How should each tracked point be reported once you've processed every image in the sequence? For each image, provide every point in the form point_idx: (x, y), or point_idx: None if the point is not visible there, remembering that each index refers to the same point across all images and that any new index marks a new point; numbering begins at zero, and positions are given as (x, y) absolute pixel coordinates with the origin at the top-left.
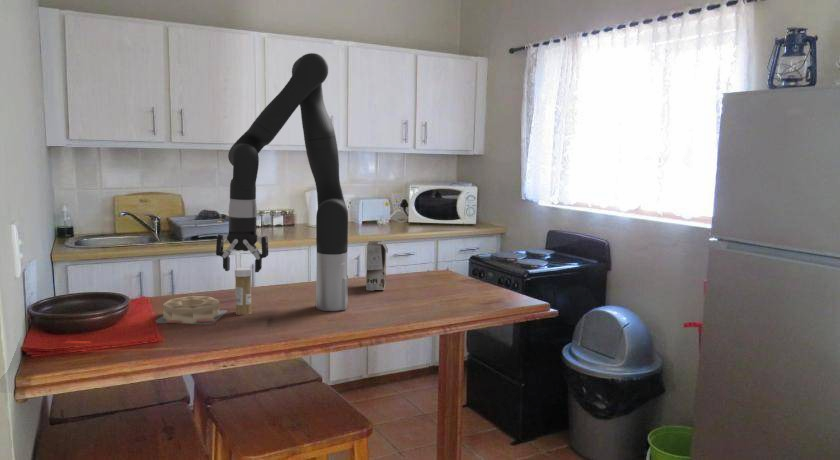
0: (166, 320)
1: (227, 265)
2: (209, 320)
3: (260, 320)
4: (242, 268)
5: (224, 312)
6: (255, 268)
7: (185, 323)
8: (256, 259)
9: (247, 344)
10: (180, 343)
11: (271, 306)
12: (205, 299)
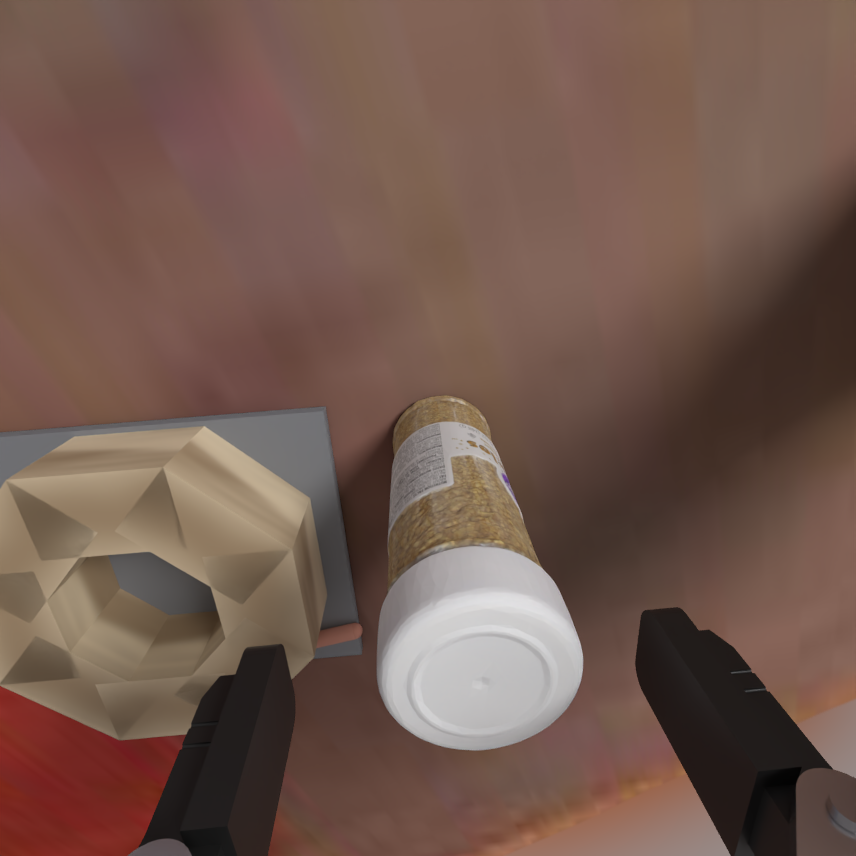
0: None
1: (281, 780)
2: (333, 642)
3: (568, 524)
4: (462, 658)
5: (323, 461)
6: (663, 719)
7: None
8: (754, 846)
9: (586, 789)
10: (343, 816)
11: (572, 195)
12: (184, 545)
